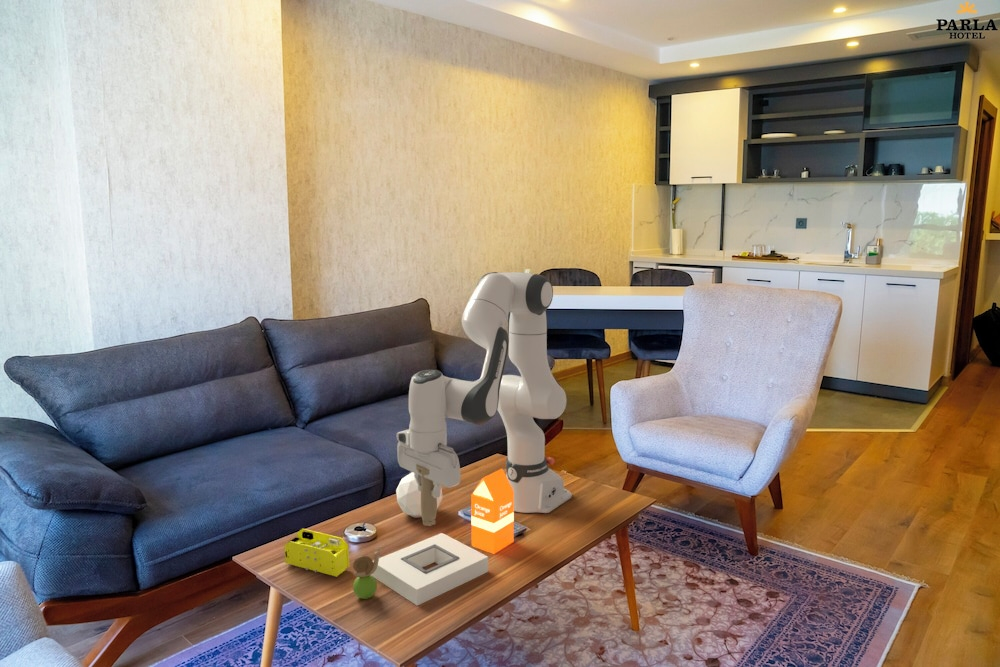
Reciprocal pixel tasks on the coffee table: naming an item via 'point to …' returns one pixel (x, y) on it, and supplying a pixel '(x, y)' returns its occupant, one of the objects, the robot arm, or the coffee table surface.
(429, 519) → the handle
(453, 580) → the socket board
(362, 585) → the snail figurine
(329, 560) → the yellow toy chassis
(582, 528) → the coffee table surface
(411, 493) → the geodesic sphere
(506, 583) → the coffee table surface
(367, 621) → the coffee table surface
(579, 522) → the coffee table surface
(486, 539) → the orange juice
